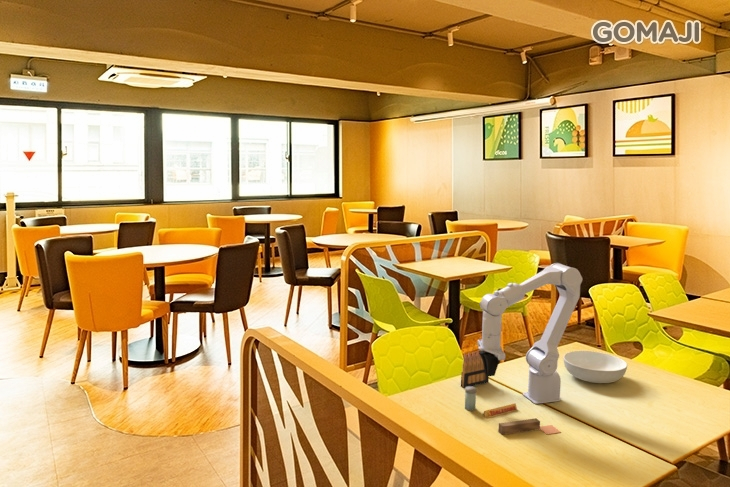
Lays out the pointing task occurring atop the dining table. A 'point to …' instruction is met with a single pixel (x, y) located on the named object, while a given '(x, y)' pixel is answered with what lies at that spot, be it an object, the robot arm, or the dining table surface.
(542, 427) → the terracotta pad
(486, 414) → the chocolate bar
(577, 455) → the dining table surface
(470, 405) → the grey-green cylindrical peg
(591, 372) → the serving bowl
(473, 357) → the ammunition clip
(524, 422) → the bar
